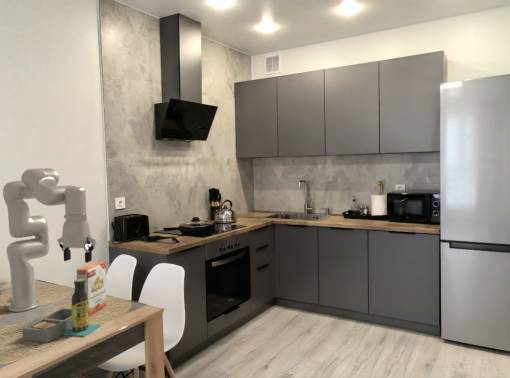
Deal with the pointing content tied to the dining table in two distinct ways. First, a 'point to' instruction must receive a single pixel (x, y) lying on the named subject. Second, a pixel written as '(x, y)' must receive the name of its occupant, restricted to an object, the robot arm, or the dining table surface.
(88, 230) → the robot arm
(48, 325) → the offcut upper
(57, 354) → the dining table surface
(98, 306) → the cracker box
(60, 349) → the dining table surface
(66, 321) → the rack
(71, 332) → the mat
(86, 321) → the sauce bottle
